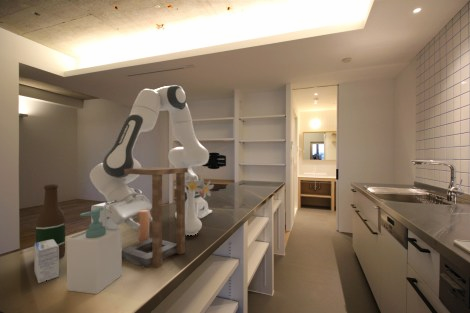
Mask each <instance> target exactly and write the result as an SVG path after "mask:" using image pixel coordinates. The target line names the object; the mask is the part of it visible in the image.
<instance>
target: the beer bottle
mask: <svg viewBox="0 0 470 313" xmlns="http://www.w3.org/2000/svg"><path fill="white" fill-rule="evenodd" d="M43 187H44V188H43V190H44V199H43V202H44V203H43V209H42V211H41V212H40V213H39V214H38V217H37V219H36V223H35V243H38V242H42V241H46V240H51V239H54V241H55V242H56V243H57V245H58V246H59V259H61V258H63V257H65V256H66V217H65V216H66V215H65V213H64V211H63V210H62V209H61V208H60V205H59V195H58V188H59V185H58V184H57V183H50V184H45V185H44V186H43Z"/></svg>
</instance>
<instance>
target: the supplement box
mask: <svg viewBox="0 0 470 313" xmlns="http://www.w3.org/2000/svg"><path fill="white" fill-rule="evenodd" d="M105 203H106V202H101V203H98V204H94V205H93V204H92V205H91V210H90V211H93V210H96V209H98V208H103V210H102V211H100V218H99V222H102V226H105V227H106V228H111V229H119V225H116V224H114V223H113V221H112V220H111V218H110V217H109V215H108V214H107V210H106V209H105V208H104V205H105ZM90 217H91V218H90V220H91V221H90V223H93V219H92V216H90Z"/></svg>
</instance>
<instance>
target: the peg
mask: <svg viewBox="0 0 470 313" xmlns="http://www.w3.org/2000/svg"><path fill="white" fill-rule="evenodd" d="M149 212H150V211H149V210H141V211H139V212H138V217H137V222H138V223H139V224H140V227H139V228H138V229H137V244H138V243H140V242H143V241H145V240H148V239H150V222H149Z"/></svg>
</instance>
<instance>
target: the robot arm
mask: <svg viewBox="0 0 470 313" xmlns="http://www.w3.org/2000/svg"><path fill="white" fill-rule="evenodd" d="M164 111H167V112H168V113H169V119H170V123H171V129H172V134H173V138H174V139H175V140H176V141H178V142H179V143H180V144H181V146H177V147H173V148H171V149H170V150H169V152H168V154H167V156H168V161H169V163H170V164H171V165H172V167H173V168H188V172H185V178H186V177H187V176H190V177H193V178H194V176H197V181H198V180H199V177H198V175H197V173H195V172H194V170H193V169H192V167H199V166H204V165H206V164H207V163H208V162H209V159H210V153H209V151H208V149H207V148H206V147H204V146H203V145H202V144H201V142H200V141H199V140H198V138H197V136H196V133H195V130H194V125H193V124H194V123H193V118H192V114H191V111H190V109H189V106H188V104H187V93H186V91H185V89H184V88H183V87H182V86H181V85H176V84H172V85H167V86H162V87H159V88H156V89H150V88H144V89H142V90H140V91H139V93H138V95H137V97H136V99H134V103H133V105H132V107H131V111H130V113H129V115H128V117H127V118H126V120H125V121H124V124H123V126H122V127H121V129H120V132H119V134H118V136H117V139H116V140H115V143H114V145H113V146H112V147H111V149H110V150H109V151H108V153H107V154H106V155H105V156H104V158H103V160H102V162H101V163H99V164H96V165H95V166H94V167H93V168H92V169H91V171H90V173H89V179H90V181H91V183H92V184H93V186H94V188H95V189H96V190H97V191H98V192H99V193H100V194H101V195H103V196H104V198H105V200H106V202H104V203H105V205H104V208H105V209H106V210H107V214H108V215H109V217H110V218H111V220H112V221H113V223H114V224H116V225H118V226H120V225H123V224H124V223H125V224H126V225H128V226H130V227H132V228H133V229H134V230H136V231H137V230H138V228H139V227H140V224H139V223H138V221H135V220H134V219H135V218H138V212H139V211H141V210H149V223H151V222H152V213H151V210H152V202H151V201H150V200H149V198H148V197H146V195H144V194H143V192H142V190H141V189H138V188H133V187H129V186H128V185H129V184H130V183H132V182H134V181H135V180H137V179H138V178H140V176H141V175H142V174H124V169H135V168H143V167H142V164H141V162H139V161H138V160H137V159H136V158H134V155H133V150H134V148H135V145H136V143H137V140H138V138H139V135H140V134H141V133H142V132H143V133H145V132H150V131H152V130H153V129H154V128H155V126H156V123H157V122H158V118H159V114H160V112H164ZM189 180H190V179H189ZM186 187H187V186H186ZM186 187H185V216H186V214H187V192H186V189H187V188H186ZM188 188H189V187H188ZM201 195H204V191H203V190H201V189H200V192H196V191H195V198H194V204H195V213H196V216H197V218H198V219H199V220H200V219H203V218H204V217H207V216H209V214H212V213H213V210H212V209H209V204H208V202H207V200H205V198H203V197H202V196H201ZM174 214H175V217H174V218H176V212H175V213H174Z"/></svg>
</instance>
